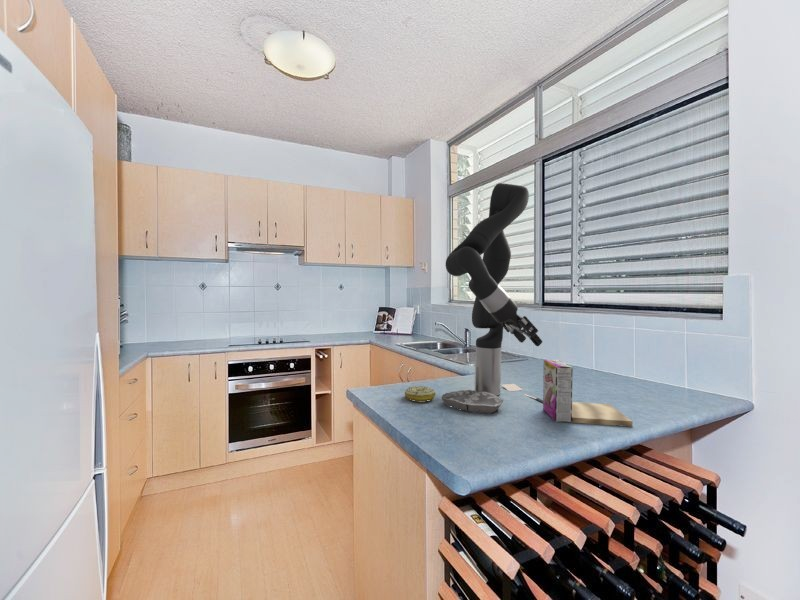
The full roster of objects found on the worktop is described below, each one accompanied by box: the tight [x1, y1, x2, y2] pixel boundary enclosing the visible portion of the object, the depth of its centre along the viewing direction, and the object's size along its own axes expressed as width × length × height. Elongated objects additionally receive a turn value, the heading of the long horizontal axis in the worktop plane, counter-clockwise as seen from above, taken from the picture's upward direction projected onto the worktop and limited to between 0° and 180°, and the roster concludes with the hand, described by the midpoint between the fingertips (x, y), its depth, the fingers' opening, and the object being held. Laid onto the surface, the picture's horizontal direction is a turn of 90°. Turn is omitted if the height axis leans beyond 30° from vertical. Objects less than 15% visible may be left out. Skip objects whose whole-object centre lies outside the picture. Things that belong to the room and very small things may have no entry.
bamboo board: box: [571, 401, 634, 427], centre depth 114 cm, size 16×16×2 cm
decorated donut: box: [404, 385, 436, 401], centre depth 129 cm, size 10×11×4 cm
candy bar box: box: [542, 359, 574, 423], centre depth 112 cm, size 11×5×16 cm, turn 178°
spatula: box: [501, 383, 543, 404], centre depth 133 cm, size 6×29×2 cm, turn 17°
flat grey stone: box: [441, 389, 504, 414], centre depth 122 cm, size 20×17×3 cm
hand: (531, 342), depth 111 cm, fingers open, 8 cm apart
